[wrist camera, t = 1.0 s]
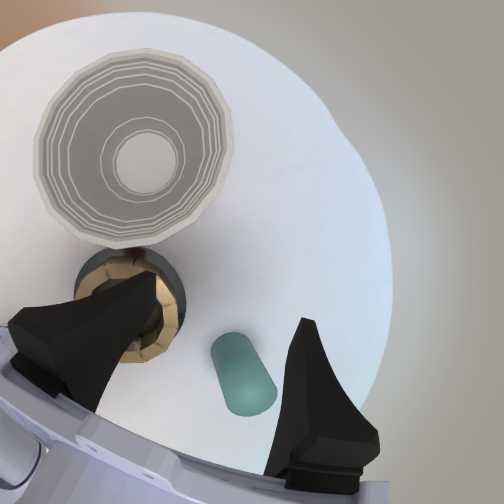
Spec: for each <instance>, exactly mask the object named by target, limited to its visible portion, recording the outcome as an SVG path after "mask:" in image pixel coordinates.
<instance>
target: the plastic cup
mask: <svg viewBox="0 0 504 504" xmlns="http://www.w3.org/2000/svg"><path fill="white" fill-rule="evenodd" d="M233 151H234V142H233V130H232V119H231V110H230V108H229V106H228V105H227V103H226V101H225V99H224V97H223V96H222V94H221V92H220V90H219V88H218V87H217V85H216V83H215V81H214V79H213V78H212V77H210V76H209V75H208V74H206V73H205V72H204V71H203V70H201V69H200V68H199V67H197V66H196V65H194V64H193V63H192V62H190V61H189V60H188V59H186V58H185V57H183V56H179V55H175V54H171V53H167V52H163V51H159V50H154V49H150V48H144V49H136V50H128V51H122V52H116V53H110V54H108V55H106V56H104V57H102V58H100V59H98V60H96V61H94V62H92V63H91V64H89V65H87V66H85V67H83V68H82V69H80V70H78V71H76V72H75V73H74V74H73V75H72V76H71V77H70V78H69V79H68V80H67V81H66V83H65V84H64V85H63V86H62V87H61V88H60V89H59V90H58V91H57V93H56V94H55V95H54V96H53V97H52V98H51V100H50V101H49V102H48V104H47V107H46V109H45V111H44V114H43V116H42V119H41V121H40V124H39V126H38V129H37V132H36V134H35V137H34V150H33V170H34V180H35V183H36V185H37V187H38V190H39V192H40V195H41V197H42V199H43V202H44V204H45V206H46V208H47V210H48V213H49V214H50V215H51V216H52V217H54V218H55V219H56V220H57V221H58V222H59V223H60V224H61V225H62V226H64V227H65V228H66V229H67V230H68V231H69V232H70V233H72V234H73V235H74V236H75V237H76V238H77V239H81V240H84V241H88V242H91V243H94V244H98V245H101V246H105V247H108V248H112V249H122V248H130V247H137V246H144V245H151V244H157V243H159V242H161V241H162V240H164V239H166V238H168V237H169V236H171V235H173V234H174V233H176V232H178V231H180V230H181V229H183V228H185V227H187V226H188V225H190V224H192V223H194V222H195V221H196V219H197V218H198V217H199V216H200V214H201V213H202V212H203V211H204V209H205V208H206V207H207V206H208V205H209V203H210V202H211V201H212V200H213V198H214V197H215V196H216V195H217V194H218V192H219V191H220V190H221V189H222V186H223V183H224V179H225V176H226V173H227V170H228V167H229V164H230V160H231V157H232V154H233Z"/></svg>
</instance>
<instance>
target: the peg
mask: <svg viewBox="0 0 504 504" xmlns="http://www.w3.org/2000/svg"><path fill="white" fill-rule="evenodd" d="M211 356H212V359H213V363H214V366H215V369H216V373H217V376H218V379H219V383H220V386H221V389H222V392H223V396H224V399H225V402H226V405H227V407H228V409H229V410H230V411H231V412H232V413H234V414H236V415H239V416H245V417H246V416H254V415H258V414H260V413H262V412H264V411H266V410H267V409H269V408H270V407H271V406H272V405H273V403H274V402H275V400H276V398H277V387H276V386H275V384H274V382H273V380H272V379H271V377H270V375H269V373H268V372H267V370H266V368H265V367H264V365H263V363H262V361H261V359H260V358H259V356H258V354H257V352H256V351H255V349H254V347H253V345H252V343H251V342H250V340H249V339H248V338H247V337H246V336H245V335H243V334H240V333H227V334H224V335H222V336H221V337H219V338H218V339H217V340H216V341H215V342H214V343H213V345H212V348H211Z"/></svg>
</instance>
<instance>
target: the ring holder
mask: <svg viewBox="0 0 504 504" xmlns="http://www.w3.org/2000/svg"><path fill="white" fill-rule="evenodd" d="M145 270H148V271H150V272H153V273H156V274H157V281H156V307H155V309H154V310H153V312H152V314H151V316H150V318H149V319H148V321H147V323H146V324H145V325H144V327H143V328H142V329H141V331H140V332H139V333H138V335H137V336H136V337H135V339H134V340H133V341H132V343H131V344H130V345H129V347H128V348H127V350H126V351H125V352H124V354H123V355H122V357H121V359H120V360H119V363H144V361H145V362H147V361H149V360H150V359H152V358H154V357H156V356H158V355H159V354H161V353H163V352H165V351H166V350H167V349H168V347H169V345H170V343H171V341H172V340H173V338H174V337H175V336H176V335H177V333H178V332H179V330H180V328H181V326H182V324H183V321H184V318H185V313H186V297H185V292H184V288H183V285H182V282H181V280H180V278H179V276H178V274H177V272H176V271H175V270H174V268H173V267H172V266H171V265H170V264H169V263H168V262H167V261H166V260H165V259H164V258H163V257H161V256H160V255H158V254H157V253H155V252H153V251H151V250H149V249H147V248H144V247H140V246H137V247H130V248H122V249H112V248H106V249H103V250H101V251H100V252H98V253H96V254H95V255H94V256H93V257H91V258H90V259H89V260H88V261H87V262H86V263H85V265H84V266H83V267H82V269H81V270H80V272H79V274H78V277H77V279H76V283H75V288H74V300H78V299H81V298H84V297H87V296H90V295H93V294H95V293H98V292H100V291H103V290H105V289H107V288H109V287H112V286H114V285H116V284H118V283H120V282H122V281H124V280H126V279H128V278H130V277H132V276H134V275H136V274H138V273H140V272H143V271H145Z"/></svg>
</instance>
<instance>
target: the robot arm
mask: <svg viewBox="0 0 504 504" xmlns="http://www.w3.org/2000/svg"><path fill="white" fill-rule="evenodd" d="M156 281H157V274H156V273H153V272H150V271H148V270H145V271H143V272H140V273H138V274H136V275H134V276H132V277H130V278H128V279H126V280H124V281H122V282H120V283H118V284H116V285H114V286H112V287H109V288H107V289H105V290H103V291H100V292H98V293H95V294H93V295H90V296H87V297H84V298H81V299H78V300H74V301H70V302H66V303H62V304H56V305H50V306H42V307H24V308H23V309H21V310H20V311H19V312H18V313H17V314H16V315H15V316H14V317H13V318H12V319H11V320H10V321H9V322H8V328H6V327H0V335H1V336H0V504H15V502H16V501H18V500H19V498H20V497H21V498H20V500H19V502H18V504H390V482H388V481H363V482H360V483H359V480H360V476H362V475H363V467H364V466H366V465H367V464H368V463H370V462H371V461H373V460H374V459H375V458H376V457H377V456H378V455H379V453H380V443H379V436H378V431H377V430H376V429H375V428H374V427H373V426H372V425H371V424H370V423H369V422H368V421H367V420H366V419H365V418H364V416H363V415H362V414H361V413H360V412H359V411H358V409H357V408H356V407H355V406H354V404H353V403H352V402H351V400H350V399H349V397H348V396H347V395H346V393H345V392H344V390H343V388H342V387H341V385H340V383H339V381H338V380H337V378H336V376H335V374H334V372H333V370H332V368H331V365H330V363H329V361H328V359H327V356H326V353H325V351H324V348H323V346H322V343H321V340H320V337H319V333H318V330H317V327H316V323H315V321H314V320H310V319H306V318H303V317H302V318H301V320H300V323H299V325H298V327H297V330H296V332H295V335H294V337H293V339H292V342H291V344H290V346H289V350H288V355H287V360H286V364H285V374H284V384H283V394H282V404H281V410H280V415H279V419H278V424H277V428H276V432H275V436H274V440H273V444H272V447H271V451H270V454H269V458H268V461H267V465H266V468H265V471H264V474H263V475H258V474H254V473H249V472H245V471H241V470H237V469H233V468H229V467H226V466H222V465H218V464H215V463H212V462H208V461H205V460H202V459H199V458H196V457H193V456H190V455H187V454H184V453H181V452H178V451H176V450H173V449H170V448H168V447H165V446H163V445H160V444H158V443H156V442H153V441H151V440H149V439H146V438H144V437H142V436H140V435H137V434H135V433H133V432H131V431H129V430H126V429H124V428H122V427H120V426H118V425H116V424H114V423H112V422H110V421H108V420H106V419H104V418H102V417H100V416H98V415H97V414H95V412H96V409H97V406H98V404H99V401H100V399H101V397H102V394H103V392H104V390H105V388H106V386H107V383H108V381H109V379H110V377H111V375H112V373H113V371H114V370H115V368H116V366H117V364H118V362H119V360H120V359H121V357H122V355H123V354H124V352H125V351H126V350H127V348H128V347H129V345H130V344H131V343H132V341H133V340H134V339H135V337H136V336H137V335H138V333H139V332H140V331H141V329H142V328H143V327H144V325H145V324H146V323H147V321H148V319H149V318H150V316H151V314H152V312H153V310H154V309H155V307H156ZM46 447H47V448H48V449H49V451H48V453H47V452H46Z"/></svg>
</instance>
